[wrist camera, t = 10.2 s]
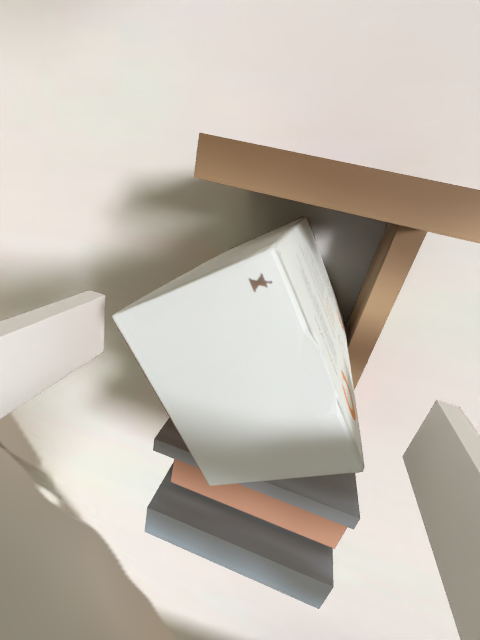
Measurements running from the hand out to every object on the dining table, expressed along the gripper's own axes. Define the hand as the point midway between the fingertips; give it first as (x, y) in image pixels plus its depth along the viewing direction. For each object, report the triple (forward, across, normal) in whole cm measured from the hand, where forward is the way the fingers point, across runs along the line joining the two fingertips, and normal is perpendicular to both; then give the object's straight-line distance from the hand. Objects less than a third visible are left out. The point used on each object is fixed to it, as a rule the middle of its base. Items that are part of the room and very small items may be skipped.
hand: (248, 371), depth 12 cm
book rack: (+11, -1, +2) cm, 11 cm away
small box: (+11, 0, -1) cm, 11 cm away
